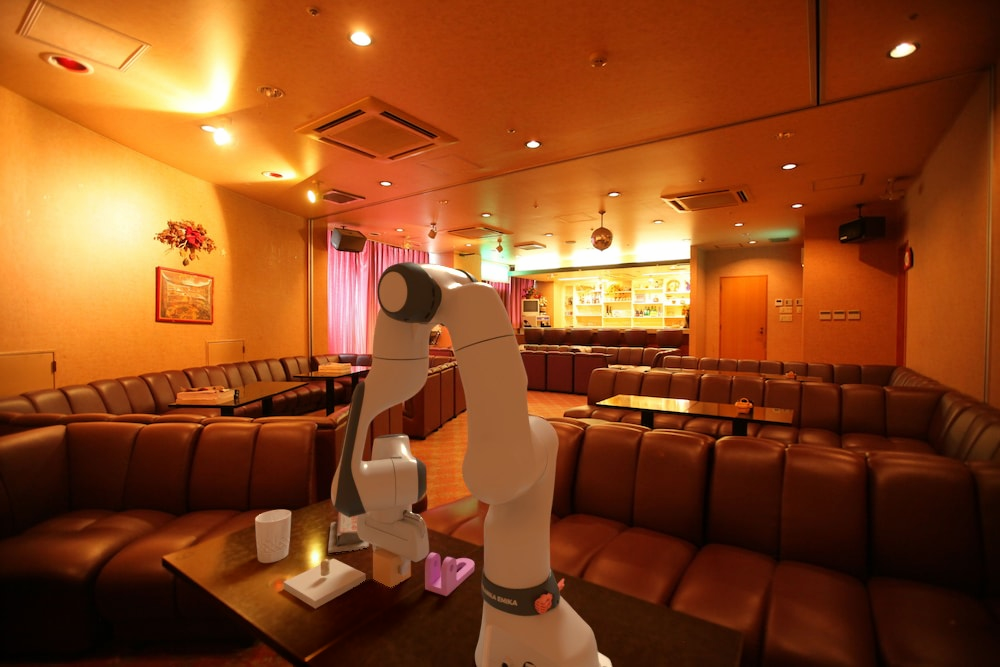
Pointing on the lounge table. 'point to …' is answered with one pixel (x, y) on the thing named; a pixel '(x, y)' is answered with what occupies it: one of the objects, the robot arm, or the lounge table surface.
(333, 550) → the packaged product
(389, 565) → the solid orange cube
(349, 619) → the lounge table surface
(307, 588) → the pin plate
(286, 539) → the white cup
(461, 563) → the bracket
